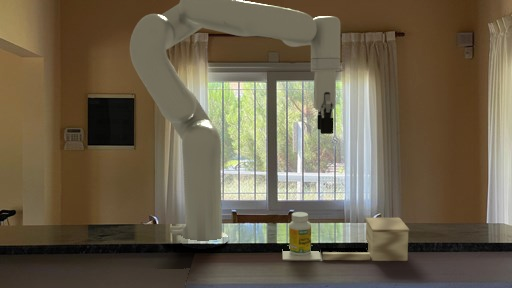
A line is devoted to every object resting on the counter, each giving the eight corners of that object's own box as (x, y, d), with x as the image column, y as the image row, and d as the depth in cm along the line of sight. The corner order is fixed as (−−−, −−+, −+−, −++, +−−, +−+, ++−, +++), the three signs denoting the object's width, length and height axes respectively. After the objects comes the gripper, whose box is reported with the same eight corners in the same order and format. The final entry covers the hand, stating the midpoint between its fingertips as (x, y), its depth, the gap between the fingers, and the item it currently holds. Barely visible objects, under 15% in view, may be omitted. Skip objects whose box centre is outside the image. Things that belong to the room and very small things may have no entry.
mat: (282, 260, 114) (282, 259, 114) (282, 246, 123) (282, 245, 123) (321, 260, 114) (321, 259, 114) (318, 246, 122) (318, 245, 122)
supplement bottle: (301, 246, 122) (301, 209, 121) (315, 253, 117) (315, 214, 116) (284, 251, 119) (284, 213, 118) (298, 257, 115) (298, 218, 113)
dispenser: (319, 261, 113) (319, 229, 112) (315, 246, 123) (315, 217, 122) (408, 261, 112) (409, 229, 111) (398, 246, 122) (399, 217, 121)
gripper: (308, 66, 134) (308, 128, 136) (313, 65, 117) (313, 135, 119) (336, 66, 134) (335, 127, 136) (344, 65, 117) (343, 135, 119)
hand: (325, 131), depth 128 cm, fingers open, 9 cm apart
